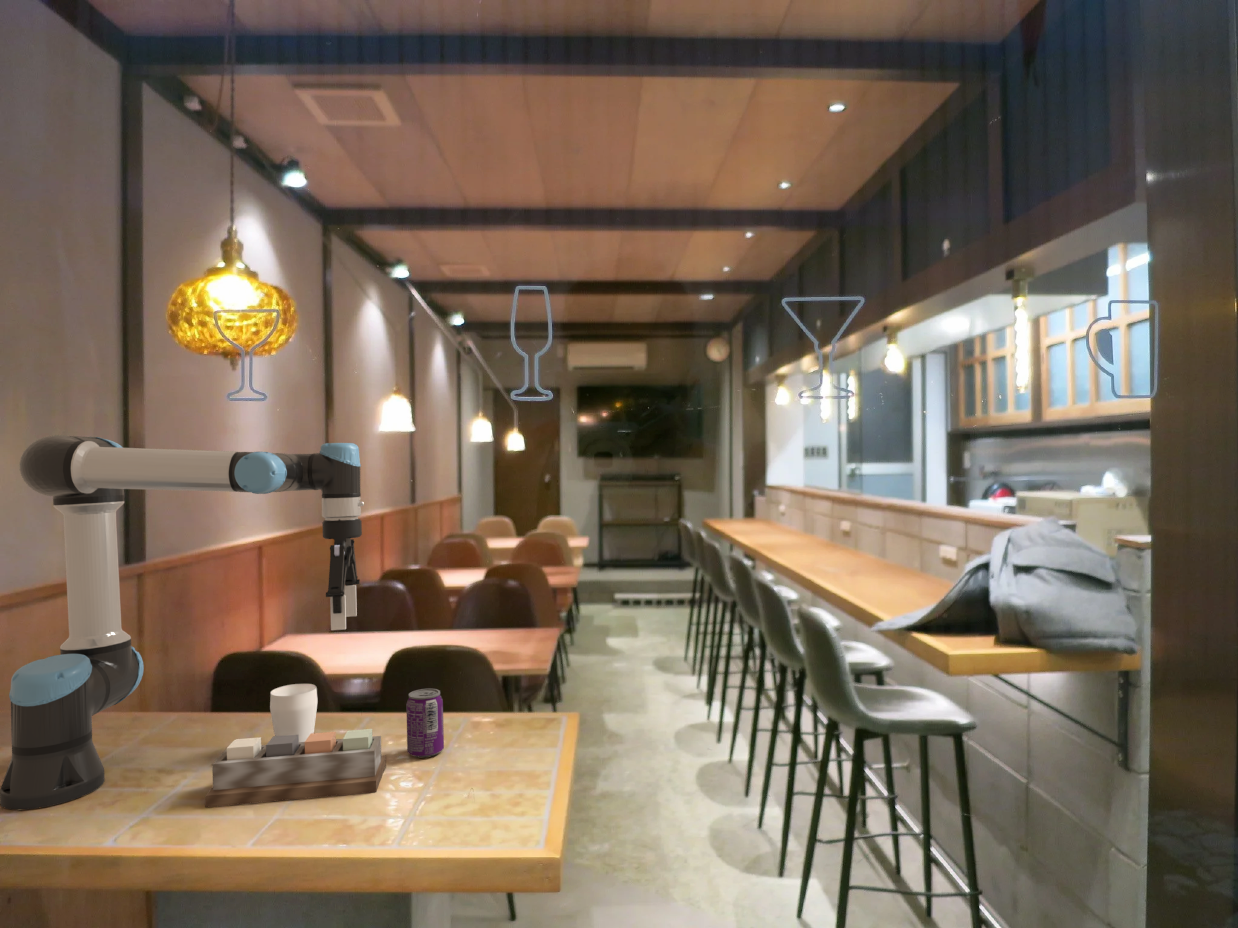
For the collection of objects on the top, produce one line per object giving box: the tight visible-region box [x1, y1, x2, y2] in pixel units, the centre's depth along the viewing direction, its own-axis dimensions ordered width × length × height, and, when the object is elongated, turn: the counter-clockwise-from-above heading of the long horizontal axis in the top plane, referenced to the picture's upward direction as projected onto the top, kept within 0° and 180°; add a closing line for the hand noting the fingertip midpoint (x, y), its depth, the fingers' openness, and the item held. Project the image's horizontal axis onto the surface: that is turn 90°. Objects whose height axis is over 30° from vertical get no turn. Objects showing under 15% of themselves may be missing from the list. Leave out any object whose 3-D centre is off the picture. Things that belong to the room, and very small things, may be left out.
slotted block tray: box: [204, 735, 387, 808], centre depth 136 cm, size 28×12×6 cm, turn 99°
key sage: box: [342, 728, 373, 751], centre depth 138 cm, size 4×4×3 cm
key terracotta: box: [305, 731, 337, 754], centre depth 137 cm, size 4×4×3 cm
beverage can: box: [405, 688, 445, 759], centre depth 151 cm, size 7×7×12 cm
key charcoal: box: [265, 734, 299, 757], centre depth 136 cm, size 4×4×3 cm
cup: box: [269, 683, 319, 742], centre depth 155 cm, size 9×9×12 cm
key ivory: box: [226, 737, 262, 761], centre depth 135 cm, size 4×4×3 cm
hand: (344, 622), depth 153 cm, fingers open, 13 cm apart
